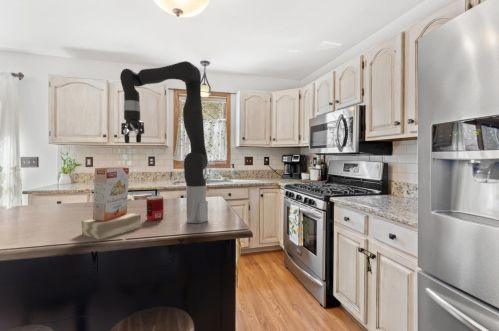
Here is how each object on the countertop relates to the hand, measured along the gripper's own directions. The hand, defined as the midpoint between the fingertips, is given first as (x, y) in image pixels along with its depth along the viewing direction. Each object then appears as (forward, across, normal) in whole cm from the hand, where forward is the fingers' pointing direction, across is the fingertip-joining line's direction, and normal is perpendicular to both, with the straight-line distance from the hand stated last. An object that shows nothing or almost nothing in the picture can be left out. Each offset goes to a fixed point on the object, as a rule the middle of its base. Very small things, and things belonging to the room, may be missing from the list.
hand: (132, 142), depth 127 cm
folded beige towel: (+38, -12, +20) cm, 45 cm away
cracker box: (+32, -12, +20) cm, 40 cm away
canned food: (+38, -13, -2) cm, 40 cm away
